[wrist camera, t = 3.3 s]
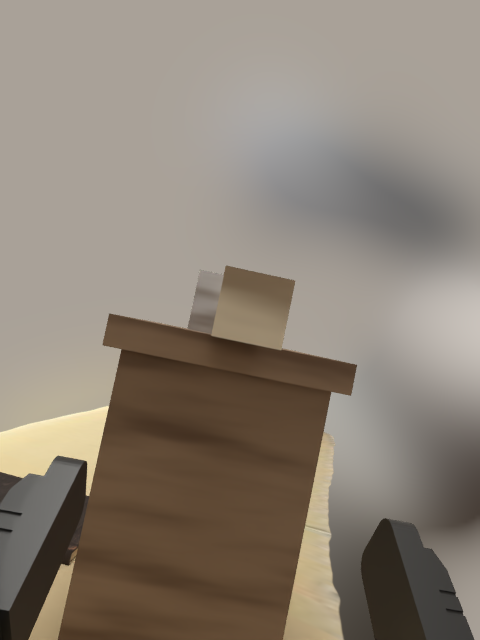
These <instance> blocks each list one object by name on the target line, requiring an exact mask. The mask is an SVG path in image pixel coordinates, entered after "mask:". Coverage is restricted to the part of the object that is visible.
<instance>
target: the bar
mask: <svg viewBox="0 0 480 640" xmlns="http://www.w3.org/2000/svg"><path fill="white" fill-rule="evenodd" d="M294 285H295V281H294V280H290V279H285V278H281V277H276V276H271V275H267V274H262V273H257V272H253V271H248V270H244V269H239V268H235V267H230V266H226V267H225V272H224V275H222V274H218V273H213V272H208V271H204V270H200V273H199V278H198V282H197V287H196V292H195V296H194V302H193V306H192V311H191V315H190V320H189V324H188V329H190V330H194V331H199V332H204V333H209V334H211V336H215V337H219V338H224V339H229V340H234V341H239V342H243V343H248V344H253V345H258V346H263V347H268V348H272V349H277V350H281V349H282V344H283V339H284V334H285V329H286V324H287V319H288V314H289V309H290V304H291V299H292V294H293V289H294Z"/></svg>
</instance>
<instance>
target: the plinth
mask: <svg viewBox="0 0 480 640" xmlns="http://www.w3.org/2000/svg"><path fill="white" fill-rule="evenodd" d="M103 345H104V346H109V347H114V348H119V349H122V350H121V354H120V359H119V364H118V368H117V373H116V377H115V382H114V387H113V391H112V395H111V400H110V405H109V409H108V414H107V418H106V423H105V427H104V432H103V436H102V441H101V446H100V450H99V455H98V459H97V464H96V468H95V473H94V477H93V482H92V487H91V491H90V496H89V500H88V505H87V509H86V514H85V518H84V523H83V527H82V532H81V537H80V541H79V546H78V550H77V555H76V559H75V564H74V568H73V573H72V578H71V582H70V587H69V591H68V596H67V600H66V605H65V609H64V614H63V619H62V623H61V628H60V632H59V637H58V640H283V635H284V630H285V625H286V620H287V614H288V609H289V604H290V599H291V594H292V589H293V584H294V579H295V574H296V569H297V564H298V558H299V553H300V548H301V543H302V538H303V533H304V528H305V523H306V518H307V513H308V508H309V503H310V497H311V492H312V487H313V482H314V477H315V472H316V467H317V462H318V457H319V452H320V447H321V441H322V436H323V431H324V426H325V421H326V416H327V410H328V406H329V401H330V395H331V392H336V393H341V394H345V395H351V393H352V388H353V383H354V378H355V372H356V367H357V365H355V364H350V363H346V362H341V361H337V360H332V359H328V358H323V357H319V356H314V355H310V354H305V353H301V352H296V351H291V350H287V349H281V350H277V349H272V348H268V347H263V346H258V345H253V344H248V343H243V342H239V341H234V340H229V339H224V338H219V337H215V336H211V334H209V333H204V332H199V331H194V330H190V329H186V328H181V327H176V326H171V325H166V324H162V323H156V322H151V321H146V320H141V319H135V318H130V317H124V316H119V315H113V314H109V318H108V322H107V327H106V331H105V336H104V340H103Z"/></svg>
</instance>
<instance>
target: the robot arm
mask: <svg viewBox="0 0 480 640" xmlns="http://www.w3.org/2000/svg"><path fill="white" fill-rule="evenodd" d="M86 478H87V461H83V460H78V459H73V458H68V457H62V456H57V457H56V458H55V459H54V460H53V462H52V463H51V465H50V467H49V469H48V470H47V472H46V474H45V475H44V476H40V475H35V474H30V473H29V474H28V475H27V476H26V477H24V478H23V479H22V480H21V481H19V482H18V483H17V484H16V485H14V486H13V487H12V488H11V489H10V490H9V491H8V493H7V494H6V496H5V497H4V499H3V501H2V502H1V504H0V640H28V639H29V636H30V634H31V632H32V629H33V627H34V625H35V623H36V620H37V618H38V616H39V613H40V611H41V609H42V606H43V604H44V602H45V600H46V597H47V595H48V593H49V590H50V588H51V586H52V584H53V581H54V579H55V577H56V574H57V572H58V570H59V567H60V565H61V563H62V561H63V558H64V556H65V554H66V551H67V549H68V547H69V544H70V542H71V540H72V538H73V535H74V533H75V531H76V528H77V526H78V524H79V521H80V518H81V515H82V512H83V508H84V504H85V495H86ZM361 573H362V579H363V584H364V589H365V594H366V598H367V603H368V608H369V613H370V618H371V623H372V627H373V632H374V637H375V640H474V638H473V635H472V633H471V630H470V627H469V625H468V622H467V620H466V617H465V616H463V610H462V607H461V604H460V602H459V599H458V597H456V595H455V594H456V592H455V589H454V587H453V585H452V582H451V579H450V577H449V574H448V571H447V570H446V568H445V567H444V565H443V564H442V562H441V561H440V560H439V558H438V557H437V556H436V554H435V553H434V551H433V550H432V549H428V548H424V547H423V544H422V542H421V539H420V536H419V533H418V531H417V529H416V527H415V526H414V525H413V524H412V523H407V522H401V521H396V520H391V519H386V518H385V519H383V520H381V522H380V523H379V525H378V527H377V529H376V530H375V532H374V534H373V536H372V538H371V539H370V541H369V543H368V545H367V546H366V548H365V550H364V553H363V555H362V562H361Z"/></svg>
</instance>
